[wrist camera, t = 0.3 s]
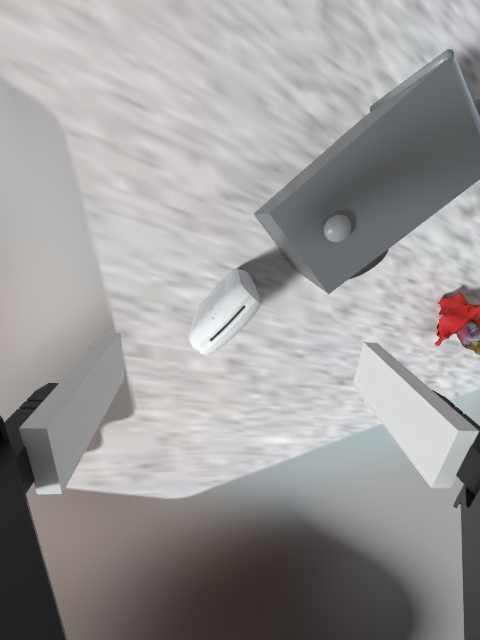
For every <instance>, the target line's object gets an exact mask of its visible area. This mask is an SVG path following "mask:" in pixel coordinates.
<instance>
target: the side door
mask: <svg viewBox="0 0 480 640" xmlns="http://www.w3.org/2000/svg"><path fill="white" fill-rule="evenodd" d="M447 59H449V61H450V64H451V66H452V68H453V71H454V73H455V76H456V78H457V81H458V83H459V85H460V88H461V90H462V93H463V95H464V98H465V100H466V102H467V105H468V107H469V110H470V112H471V115H472V117H473V119H474V122H475V124H476V127H477V129H478V132H479V134H480V99H479V100H477V101H475V102H473V99H472V97H471V94H470V92H469V89H468V87H467V84H466V82H465V79H464V77H463V74H462V72H461V69H460V67H459V65H458V62H457V60H456V57H455V55H454V52H453V51H452V50H451V49H448V50H446V51H445V52H443V53H442V54H441V55H439V56H438V57H437V58H435V59H434V60H433V61H431V62H430V63H428V64H427V65H426V66H424V67H423V68H422V69H420V70H419V71H418V72H416V73H415V74H414V75H412V76H411V77H409V78H408V79H407V80H405V81H404V82H403V83H401V84H400V85H399V86H397V87H396V88H395V89H393V90H392V91H391V92H389V93H388V94H386V95H385V96H384V97H382V98H381V99H380V100H378V101H377V102H376V103H374V104H373V105H372V106H371V107H370V112H372V111H373V110H375V109H376V108H378V107H379V106H381V105H382V104H384V103H385V102H386V101H388V100H389V99H391V98H392V97H394V96H395V95H396V94H398V93H399V92H401V91H402V90H404V89H405V88H407V87H408V86H409V85H411V84H412V83H414V82H415V81H417V80H418V79H419V78H421V77H422V76H424V75H425V74H427V73H428V72H430V71H431V70H432V69H434V68H435V67H437V66H438V65H440V64H441V63H442V62H444V61H445V60H447Z"/></svg>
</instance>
